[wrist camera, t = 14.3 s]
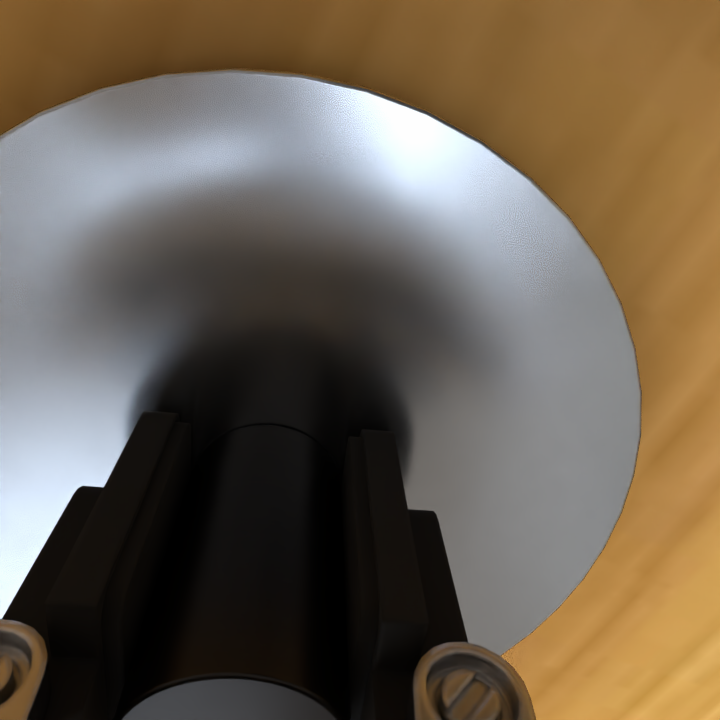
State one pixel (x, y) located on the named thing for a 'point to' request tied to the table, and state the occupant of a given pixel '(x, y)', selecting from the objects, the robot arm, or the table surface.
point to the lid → (302, 365)
